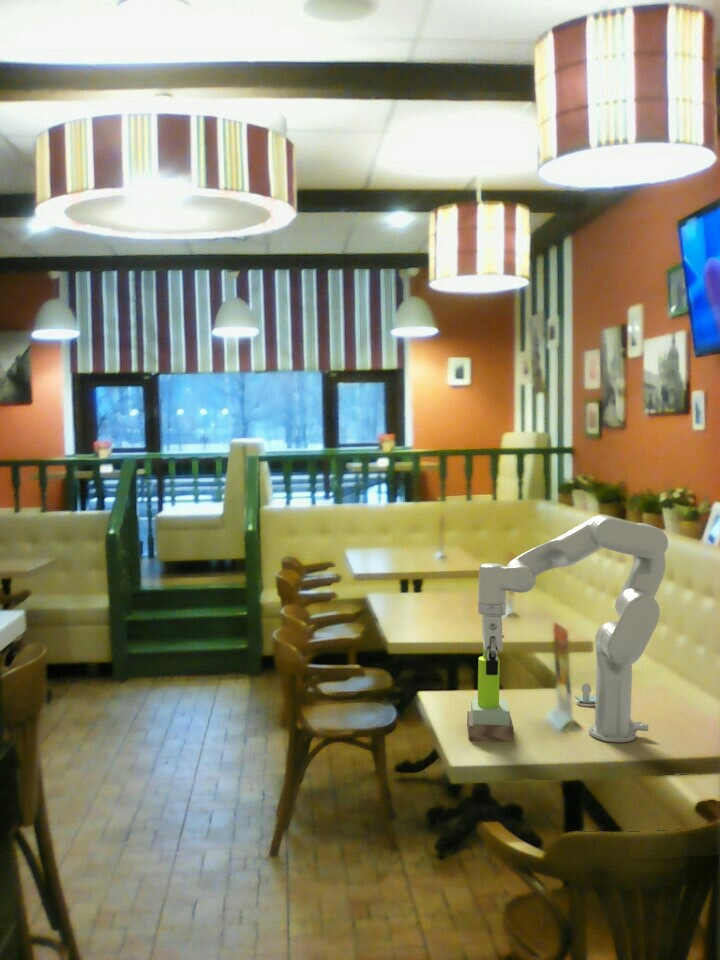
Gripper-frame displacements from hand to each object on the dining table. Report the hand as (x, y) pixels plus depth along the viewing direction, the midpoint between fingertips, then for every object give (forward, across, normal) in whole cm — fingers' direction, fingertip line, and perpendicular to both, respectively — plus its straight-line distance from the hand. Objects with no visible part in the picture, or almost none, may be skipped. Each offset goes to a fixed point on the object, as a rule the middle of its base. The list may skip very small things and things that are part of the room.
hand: (490, 669), depth 243 cm
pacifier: (+18, +29, -32) cm, 47 cm away
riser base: (+18, 0, 0) cm, 18 cm away
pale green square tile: (+14, 0, 0) cm, 14 cm away
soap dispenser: (+10, 0, 0) cm, 10 cm away
